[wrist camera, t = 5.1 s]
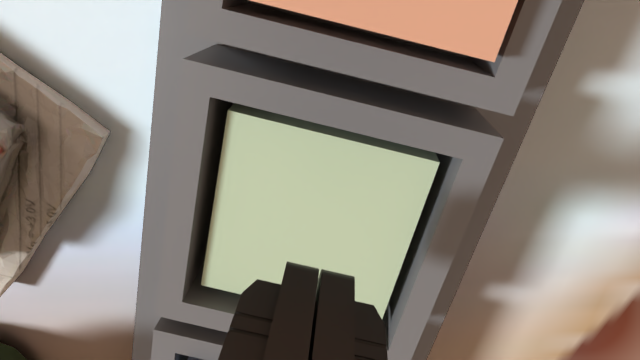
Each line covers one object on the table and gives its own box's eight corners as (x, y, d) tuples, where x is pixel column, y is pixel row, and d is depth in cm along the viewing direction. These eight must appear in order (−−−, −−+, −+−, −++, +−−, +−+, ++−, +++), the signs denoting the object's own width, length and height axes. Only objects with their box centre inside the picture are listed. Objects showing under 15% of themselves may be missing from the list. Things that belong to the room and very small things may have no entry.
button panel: (221, -355, 12) (138, -562, 7) (653, -237, 12) (827, -366, 8) (144, 389, 23) (92, 489, 19) (372, 441, 24) (375, 552, 19)
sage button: (244, 93, 14) (227, 110, 12) (429, 139, 14) (439, 162, 13) (217, 251, 17) (200, 285, 15) (376, 289, 17) (379, 327, 15)
